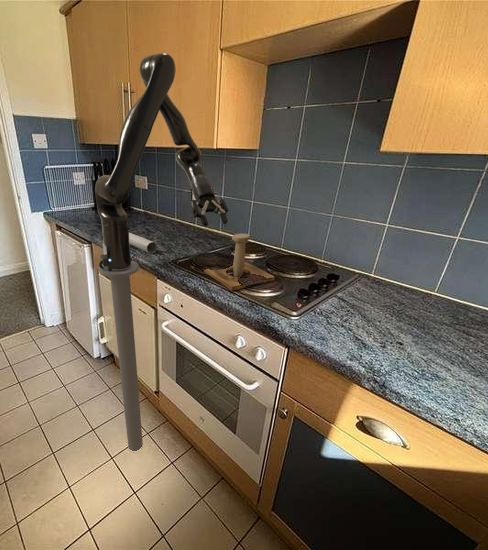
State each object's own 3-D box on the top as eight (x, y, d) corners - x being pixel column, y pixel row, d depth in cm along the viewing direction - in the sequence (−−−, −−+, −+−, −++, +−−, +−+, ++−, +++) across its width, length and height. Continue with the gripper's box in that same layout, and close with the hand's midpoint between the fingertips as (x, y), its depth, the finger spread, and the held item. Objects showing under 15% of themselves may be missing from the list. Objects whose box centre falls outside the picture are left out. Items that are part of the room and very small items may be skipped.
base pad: (231, 290, 98) (232, 286, 97) (203, 271, 112) (203, 268, 111) (274, 280, 105) (274, 276, 105) (242, 263, 120) (243, 260, 119)
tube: (116, 233, 144) (145, 245, 127) (125, 228, 147) (154, 239, 129) (120, 243, 147) (149, 256, 130) (129, 237, 150) (158, 249, 132)
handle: (226, 275, 109) (229, 235, 103) (239, 271, 112) (242, 232, 106) (236, 280, 105) (239, 239, 99) (249, 275, 109) (252, 235, 103)
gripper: (189, 183, 112) (203, 220, 107) (221, 182, 118) (236, 217, 113) (182, 196, 118) (196, 231, 113) (213, 194, 124) (227, 227, 120)
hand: (216, 224), depth 113 cm, fingers open, 8 cm apart
